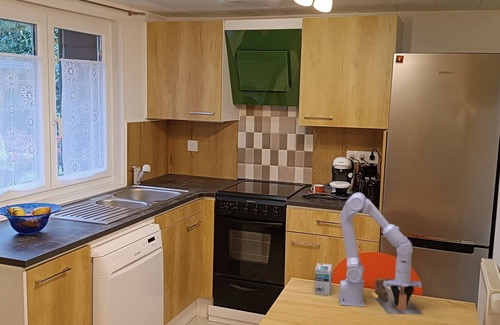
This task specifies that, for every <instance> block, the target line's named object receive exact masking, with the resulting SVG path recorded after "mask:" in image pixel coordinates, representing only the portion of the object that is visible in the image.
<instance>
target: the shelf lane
mask: <svg viewBox="0 0 500 325" xmlns="http://www.w3.org/2000/svg"><path fill="white" fill-rule="evenodd" d="M389 280H395V278H375V284H374V285H375V286H374V292H375V293H376V294H377V295H378V298H374V299H375V300H376V301H377V303H378V304H379V305H380V306H381V307H382V309H383V310H384V311H385V313H386V314H387V315H424V313H423V312H422V311H421V310H420V309H419V308H418V307H417V306H416V305H415V304H414V302H412V301H411V300H410V299H409V301H408V304H407V306H406V310H398V309H397V308H396V304H395V301H388V300H387V292H386V291H385V287H384V286H383V281H389ZM399 288H400V289H401V291H400V292H404V287H399Z"/></svg>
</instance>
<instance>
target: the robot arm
mask: <svg viewBox="0 0 500 325" xmlns="http://www.w3.org/2000/svg"><path fill="white" fill-rule="evenodd" d="M359 212H361V213H363V214H365V215H369V216H370V217H371V218H372V219H373V221H375V222H376V223H377V224H378V226H379V227H380V228H381V229H382V235H383V236H384V238H386V239H387V241H388V242H389V243H390V244H391V246H392V247H394V248H396V249H395V250H396V253H397V254H396V259H395V261H396V262H395V274H394V279H395V280H389V281H383V286H384V287H390V288H391V290H392V292H393V296H394V300H395V304H396V305H398V303H399V293H400V290H399V288H398V287H402V288H403V289H404V293H405V294H406V295H407V299H406V306H407V304H408V301H409V300H410V298H411V296H412V295H413V294H414V292H415V288H418V289H419V288H421V289H422V282H421V281H419V280H411V274H412V273H411V272H412V254H413V253H414V252H413V244H412V242H411V240H410V239H408V237H407V236H405V235H404V234H403V233H402V232H401V231H400V227H399V226H398V225H397V226H396V225H395V224H391V223H389V222H388V220H386V218H385V217H384V216H383V214H382V213H381V212H380V211H379V210H378V207H376V206H375V205H374V204H373V202H372V201H371V200H370V199H369V198H367V197H366V196H365V194H364V193H362V192H355V193H353V194H352V195H351V196H349V198H348V199H347V200H346V202H345V203H344V206H343V208H342V210H341V212H340V214H339V218H340V225H341V231H342V238H343V242H344V243H343V244H344V249H345V256H346V268H347V269H346V270H347V271H346V272H345V276H346V277H345V279H344V280H342V279H341V280H340V282H339V283H340V284H339V294H338V300H339V305H341V306H348V307H351V306H352V307H365V302H364V286H365V280H364V279H363V274H364V272H365V268H364V266H363V264H362V262H361V259H360V256H359V249H358V244H357V238H356V232H355V227H354V226H355V225H354V219H353V218H354V217H355V215H357V213H359Z"/></svg>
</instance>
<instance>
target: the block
mask: <svg viewBox="0 0 500 325" xmlns="http://www.w3.org/2000/svg"><path fill="white" fill-rule="evenodd" d="M398 288H399V287H398ZM399 290H400V291H401V289H400V288H399ZM385 291H386V292H387V300H388V301H395V300H394V296H393V292H392V290H391V288H390V287H385ZM406 299H407V295H406V294H405V293H404V292H400V293H399V303H398V305H396V308H397V309H398V310H406Z"/></svg>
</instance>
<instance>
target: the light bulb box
mask: <svg viewBox="0 0 500 325" xmlns="http://www.w3.org/2000/svg"><path fill="white" fill-rule="evenodd" d="M314 272H315V274H314V276H315V278H314V295H319V294H321V295H320V296H328V295H330V296H331V293H332V284H333V283H332V282H333V281H332V279H333V278H332V277H333V264H332V263H323V262H322V263H320V262H317V263H316V266H315V271H314Z"/></svg>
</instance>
